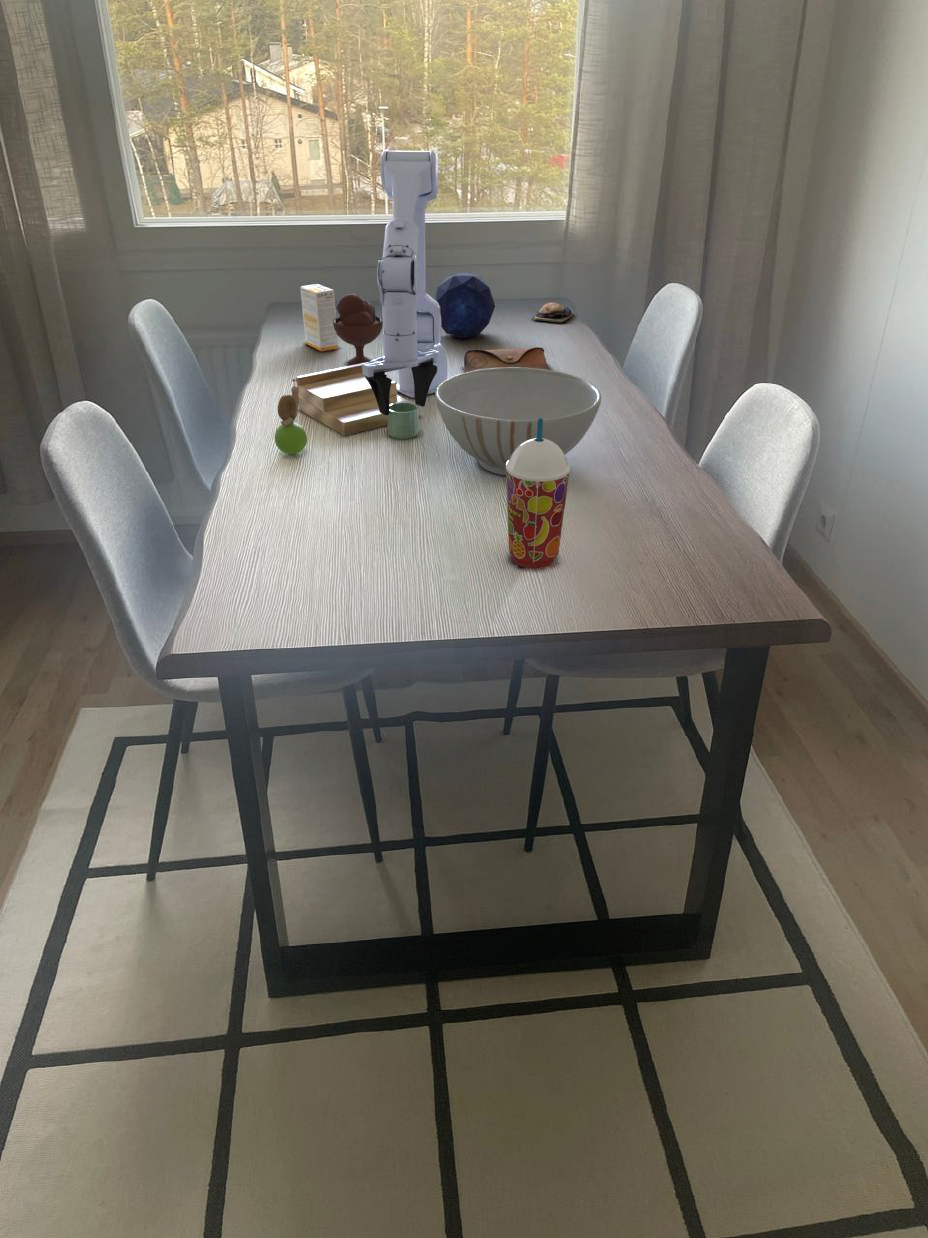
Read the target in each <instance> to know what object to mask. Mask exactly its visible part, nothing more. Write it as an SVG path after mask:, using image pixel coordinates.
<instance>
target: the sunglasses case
mask: <svg viewBox="0 0 928 1238" xmlns="http://www.w3.org/2000/svg"><path fill="white" fill-rule="evenodd" d="M505 367H521V368H537V369H546V370H550V369H549V366H548V362H547V360H546V355H545V349H544V348H543V347H538V346H537V347H535V346H534V347H530V348H502V349H500V348H499V349H469V350H467V351H466V352H465V353H464V355H463V368H464V370H465V373H466V372H470V371H475V370H482V369H490V368H505Z"/></svg>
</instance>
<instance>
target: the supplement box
mask: <svg viewBox="0 0 928 1238" xmlns="http://www.w3.org/2000/svg"><path fill="white" fill-rule="evenodd" d="M299 288H300V299H301V310H302V320H303V331H304V340H305V342H304V343H305V345H308V346H309V347H311V348H314V349H315V350H318V351H320V352H327V351H333V350H337V349H339V340H338V339H339V337H338V335H337V333H336V331H335V329H334V326H333V319H334V318H336V317H337V313H336V312H337V311H336V299H335V290H334V289H332V288H329V287H327V286H325V285H322V284H319V283H315V284H308V285H301V286H299Z"/></svg>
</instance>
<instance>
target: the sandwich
mask: <svg viewBox="0 0 928 1238" xmlns="http://www.w3.org/2000/svg"><path fill="white" fill-rule="evenodd" d="M572 316H573V312H572V310H571V308H569V306H563V305H561V304H560V303H557V302H548V303H545V304H543V306H542V307H541V308H540V310H538V311H536V312H535V316H534V319H533V321H543V322H549V323H563V322H566V321H567V320H569V319H570V318H571V317H572Z"/></svg>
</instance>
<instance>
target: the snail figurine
mask: <svg viewBox="0 0 928 1238" xmlns="http://www.w3.org/2000/svg"><path fill="white" fill-rule="evenodd" d="M291 381H292V382H293V383H295V382H296V385H293V386H291V388H290V392H291V394H290V393H285V394H283V395H282V396H281V397H280V398H279V400H278V404H277V414H278V417H279V419H281V421H280V425H279V426H278V427H277V429H276V430H275V433H274V443H275V445H276V447H277V448H278V450H280V452H281V453H283V454H286V455H297V454H299V453H301V452H302V451H303V450H304V449H305V447H306V445H307V442H308V435H307V432H306V430H305V428H304V427H303V426H302V425H300V424H299V423H297V422H294V421H295V420H296V418H297V417H298V414H299V396H298V393H299V388H298V381H299V380H298V379H296V378H292V379H291Z"/></svg>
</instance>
